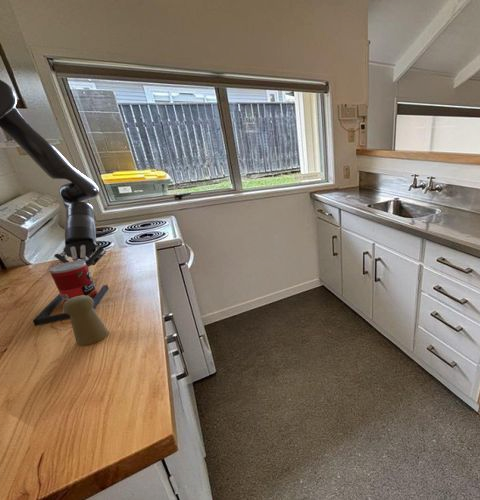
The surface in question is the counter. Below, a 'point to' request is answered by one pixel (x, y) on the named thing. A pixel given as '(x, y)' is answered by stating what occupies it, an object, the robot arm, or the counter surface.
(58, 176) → the robot arm
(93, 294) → the canned food
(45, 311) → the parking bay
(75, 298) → the cork
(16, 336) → the counter surface
